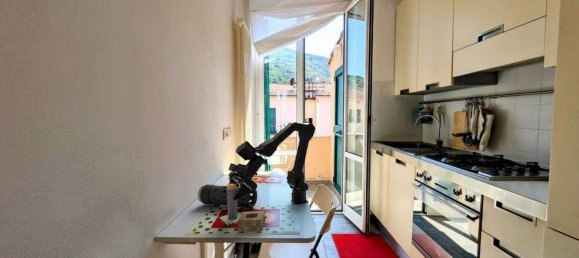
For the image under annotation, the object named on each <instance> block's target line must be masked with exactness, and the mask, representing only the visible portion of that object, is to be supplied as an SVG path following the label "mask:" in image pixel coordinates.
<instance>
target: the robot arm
mask: <svg viewBox="0 0 579 258" xmlns="http://www.w3.org/2000/svg"><path fill="white" fill-rule="evenodd" d="M294 132H297V135H298V139H299V141H298V145H297V149H296V153H295V158H294V163H293V168H291V169H290V170H288V171H287V174H286V175H287V176H286V183H287V185H289V188H290V189H291V199H290V202H292V203H293V204H295V205H300V204H304V203H308V202H309V200H308V199H307V191H308V190H309V187H310V186H309V185H308V184H307V182H306V181H305V173H304V168H305V167H304V166H305V162H306V157H307V154H308V153H307V152H308V149H309V143H310V141H311V140H312V138H313V137H314V135H315V132H316V127H315V125H314V124H313V123H312V122H304V123H303V122H302V123H301V122H297V121H290V122H288V123H287V125H286V126H284V127H283V128H282V129H281V130H280V131H278V132H277V133H276V134H274V135H273V137H271V138H269V139H266V140H265V141H263V142H261V143H260V144H259V145H257V146H253V145H252V144H251V143H250V142H249V141H248V140H245V141H243V142H242V143H240V145H238V146H237V148H236V149H235V153H236V154H237V155H238V156H239V157H240V158H242V159H243V161H248V162H247V163H246V164H242V163H237V164H235V163H232V162H230V164H229V167H228V169H227V170H228V171H230V172H229V173H228V175H227V176H228V181H229V182H228V184H236V185H237V187H240V188H239V189H238V191H237V192H236V194H235V196H234V198H233V200H237V199H239V198H240V197H242V196H244V195H246V194H248V193H250V192H252V190H253V191H255V190H258V184H257V182H255V181H254V180H253V178H254V177H255V176H257V175H258V171H259V170H260V169H261V167H263V166H264V165H265V166H268V165H269V162H268V158H270V157H272V156H273V155H274V154H275V153H276V151H277V150H278V147H279V146H280V145H281V144H282V143H284V141H285V140H286V139H287V138H289V137H290V136H291V135H292V134H293V133H294ZM264 157H266V158H264ZM225 195H227V190H226V192H225Z"/></svg>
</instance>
